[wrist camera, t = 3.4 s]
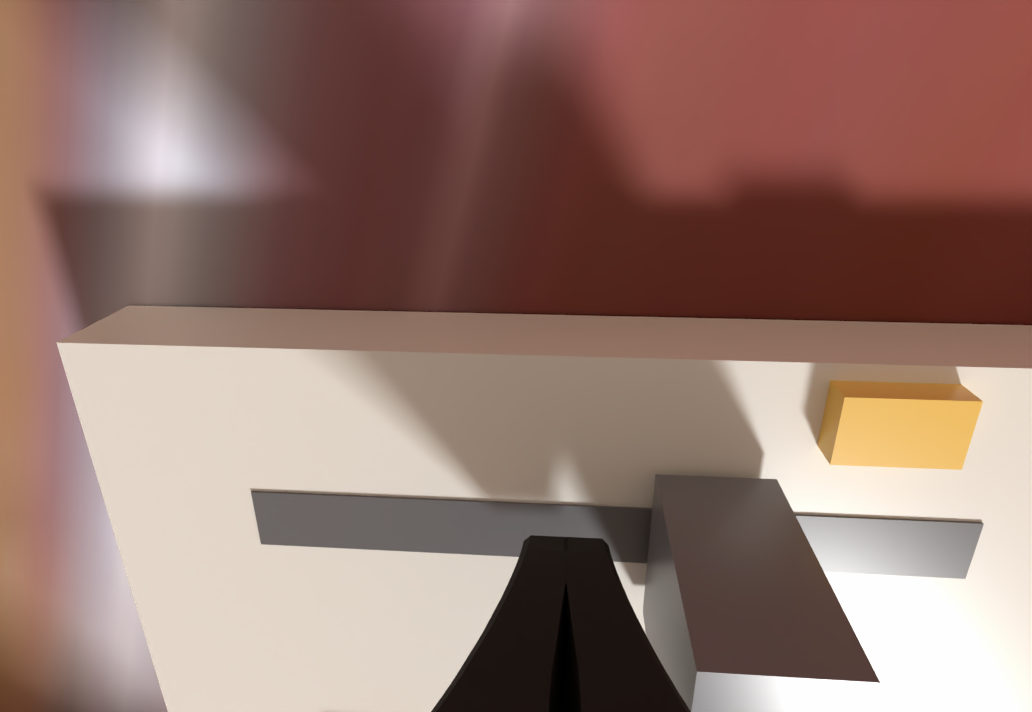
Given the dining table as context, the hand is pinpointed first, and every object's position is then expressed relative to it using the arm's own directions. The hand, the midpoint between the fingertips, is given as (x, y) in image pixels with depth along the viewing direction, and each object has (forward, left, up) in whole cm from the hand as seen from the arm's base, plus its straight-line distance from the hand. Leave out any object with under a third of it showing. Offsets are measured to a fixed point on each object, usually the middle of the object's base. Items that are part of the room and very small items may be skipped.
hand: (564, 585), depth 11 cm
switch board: (-4, -2, -3) cm, 5 cm away
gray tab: (0, -3, -1) cm, 3 cm away
